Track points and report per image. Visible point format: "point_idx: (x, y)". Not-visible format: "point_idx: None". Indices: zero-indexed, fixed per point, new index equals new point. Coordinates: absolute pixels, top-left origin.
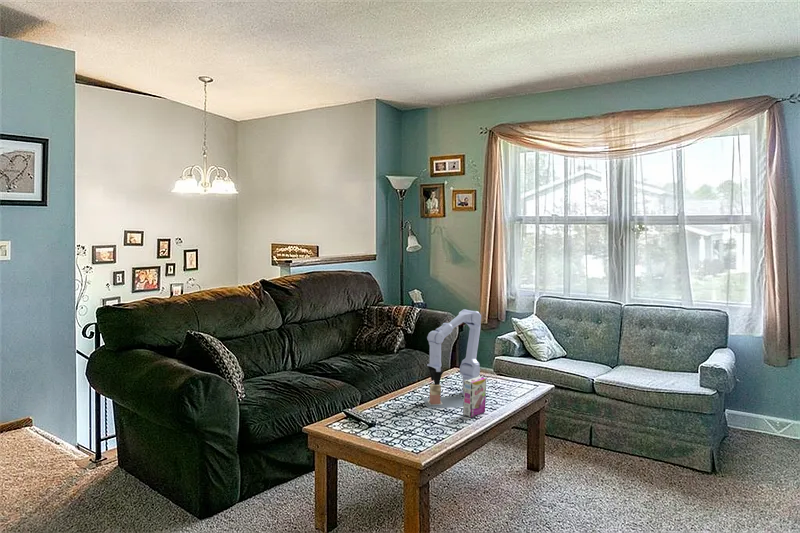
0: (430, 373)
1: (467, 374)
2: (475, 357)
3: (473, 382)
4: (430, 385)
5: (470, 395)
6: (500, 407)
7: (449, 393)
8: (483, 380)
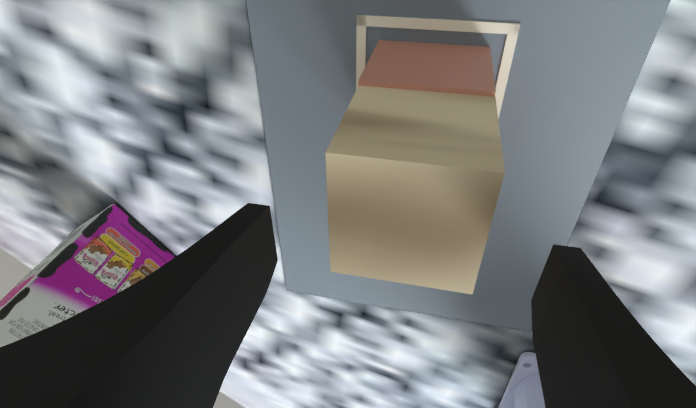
0: (609, 367)
1: None
2: None
3: None
4: (456, 153)
5: None
6: (272, 391)
7: (665, 302)
8: None
